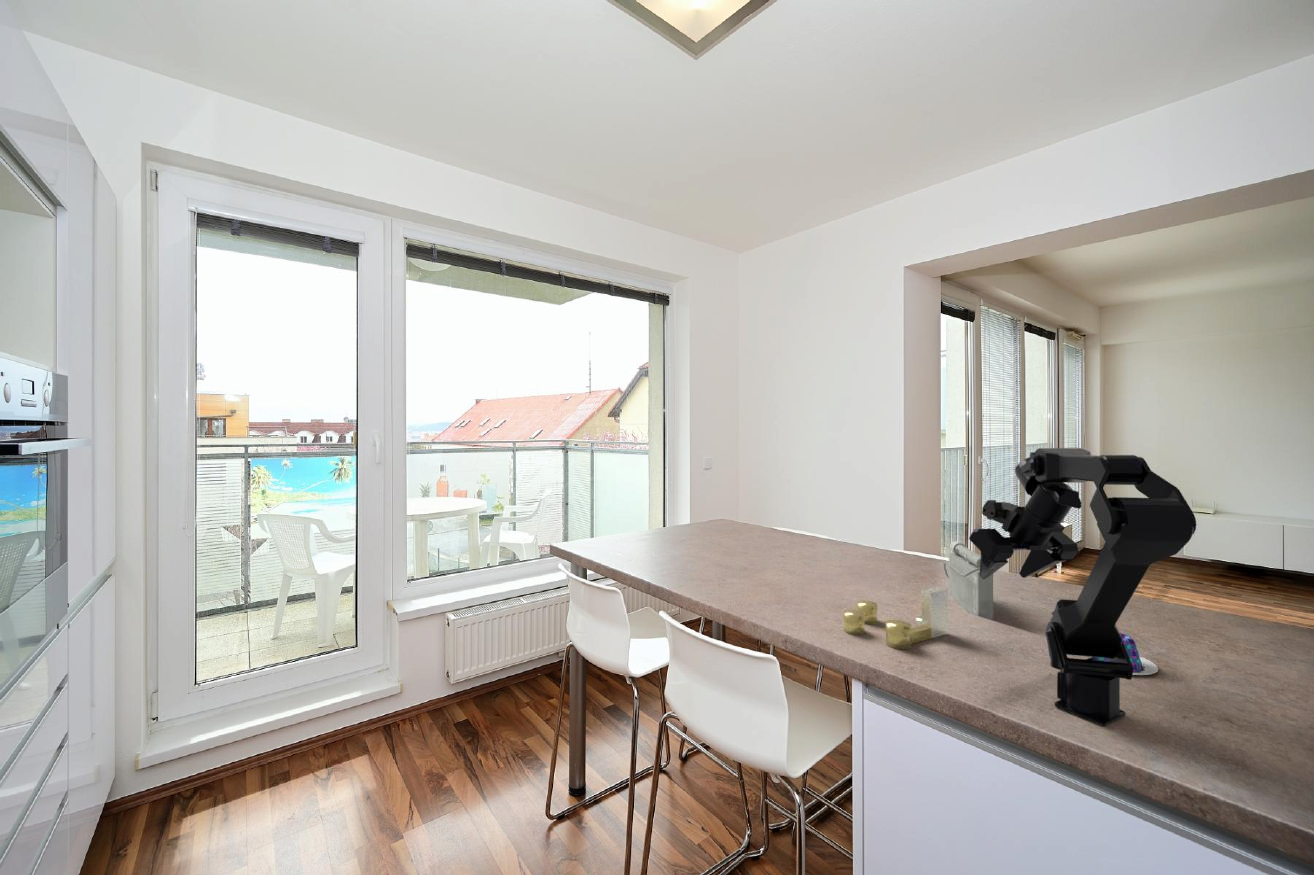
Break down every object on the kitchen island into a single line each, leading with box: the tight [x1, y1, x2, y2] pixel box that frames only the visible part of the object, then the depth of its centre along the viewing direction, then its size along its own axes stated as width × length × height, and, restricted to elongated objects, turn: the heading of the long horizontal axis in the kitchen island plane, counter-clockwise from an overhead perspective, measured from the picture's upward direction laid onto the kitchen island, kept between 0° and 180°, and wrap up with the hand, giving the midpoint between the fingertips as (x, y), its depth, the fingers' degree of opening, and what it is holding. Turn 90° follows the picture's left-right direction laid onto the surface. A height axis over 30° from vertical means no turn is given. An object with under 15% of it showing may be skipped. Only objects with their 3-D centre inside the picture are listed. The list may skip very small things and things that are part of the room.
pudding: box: [1085, 632, 1159, 676], centre depth 97 cm, size 12×12×5 cm
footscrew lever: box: [885, 586, 949, 650], centre depth 105 cm, size 15×4×9 cm, turn 116°
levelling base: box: [843, 600, 922, 636], centre depth 108 cm, size 22×22×5 cm
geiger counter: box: [943, 540, 994, 622], centre depth 130 cm, size 14×6×25 cm
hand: (1001, 576), depth 102 cm, fingers open, 9 cm apart
